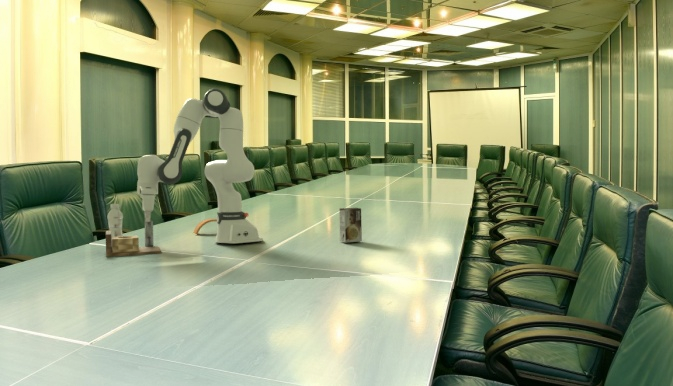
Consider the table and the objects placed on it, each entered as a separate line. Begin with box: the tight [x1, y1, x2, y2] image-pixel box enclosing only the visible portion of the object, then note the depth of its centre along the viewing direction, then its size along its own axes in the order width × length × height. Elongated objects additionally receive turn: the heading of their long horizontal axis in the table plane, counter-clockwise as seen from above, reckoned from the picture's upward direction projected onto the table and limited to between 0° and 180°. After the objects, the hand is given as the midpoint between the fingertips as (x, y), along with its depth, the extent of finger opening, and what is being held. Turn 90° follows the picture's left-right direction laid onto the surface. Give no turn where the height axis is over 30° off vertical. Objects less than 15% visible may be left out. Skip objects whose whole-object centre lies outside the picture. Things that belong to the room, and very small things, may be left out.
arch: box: [192, 218, 217, 235], centre depth 259 cm, size 6×20×10 cm, turn 120°
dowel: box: [144, 220, 154, 247], centre depth 223 cm, size 4×4×12 cm
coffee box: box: [339, 207, 363, 244], centre depth 238 cm, size 9×6×16 cm
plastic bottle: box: [106, 203, 124, 239], centre depth 222 cm, size 6×7×20 cm
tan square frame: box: [112, 235, 140, 253], centre depth 207 cm, size 10×10×6 cm
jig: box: [105, 230, 162, 258], centre depth 208 cm, size 21×16×9 cm
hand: (147, 221), depth 223 cm, fingers open, 8 cm apart
